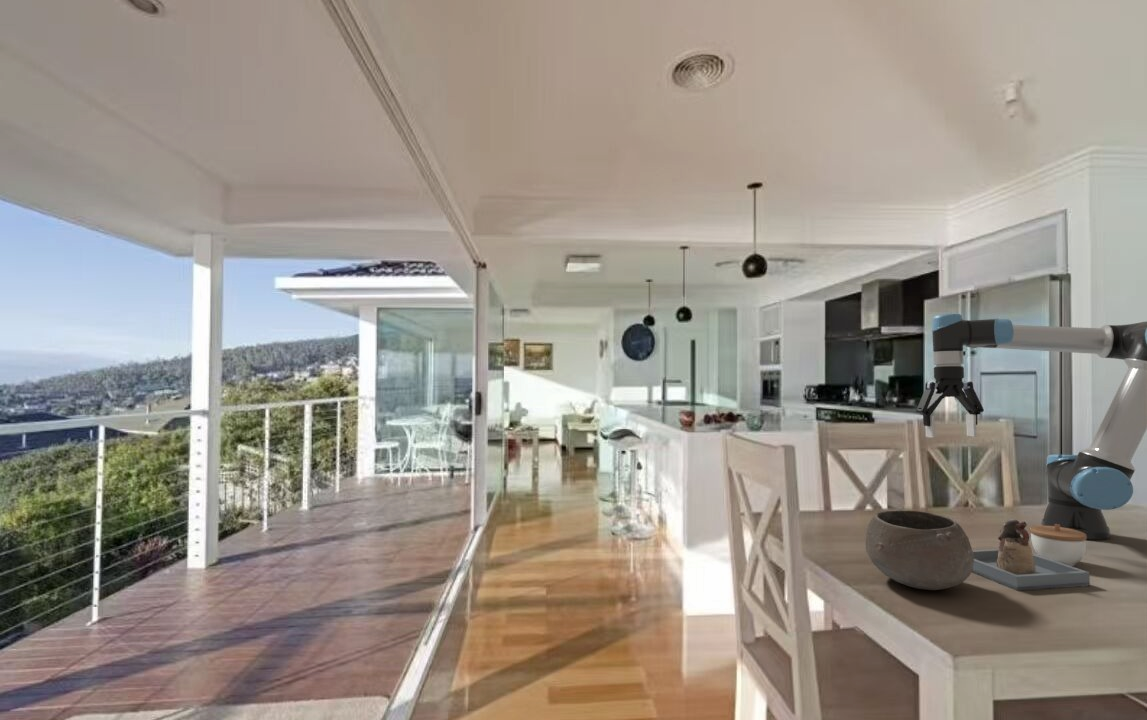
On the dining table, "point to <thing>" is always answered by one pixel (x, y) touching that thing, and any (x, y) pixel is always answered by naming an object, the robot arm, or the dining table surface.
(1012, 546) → the figurine
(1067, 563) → the lidded jar
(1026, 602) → the dining table surface
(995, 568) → the tray
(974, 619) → the dining table surface
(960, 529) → the clay pot
